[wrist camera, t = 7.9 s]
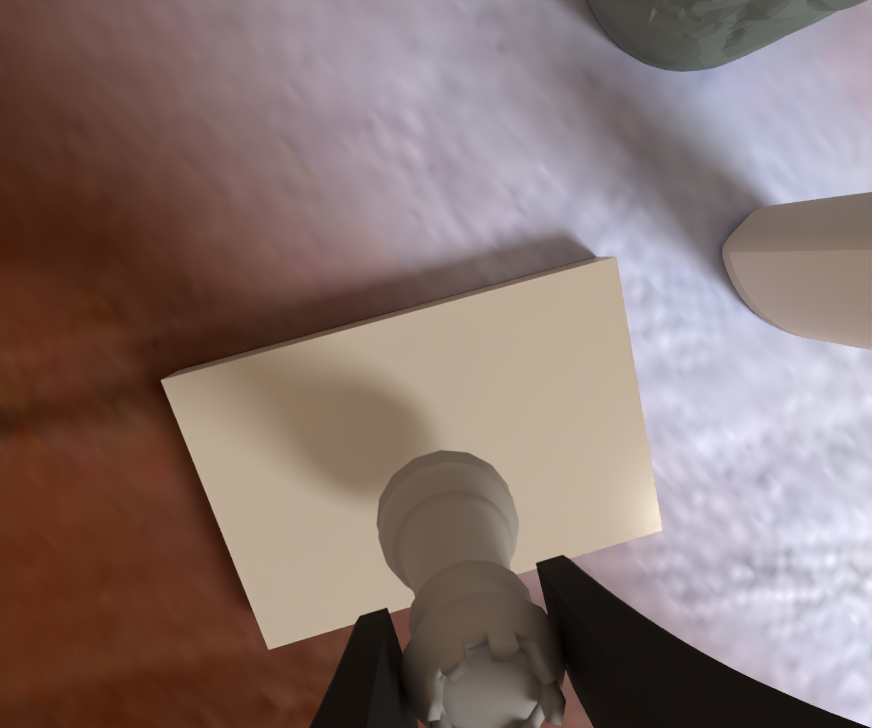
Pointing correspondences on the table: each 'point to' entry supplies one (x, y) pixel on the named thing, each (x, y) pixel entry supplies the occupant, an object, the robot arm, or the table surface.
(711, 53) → the green cup
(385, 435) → the cream tile
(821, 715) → the robot arm
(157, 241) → the table surface
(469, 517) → the rook chess piece
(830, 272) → the eye dropper bottle
